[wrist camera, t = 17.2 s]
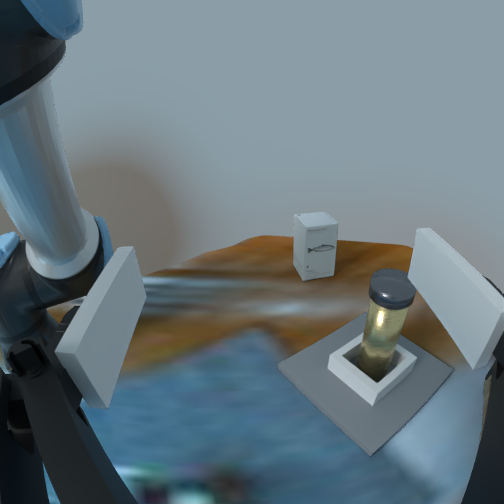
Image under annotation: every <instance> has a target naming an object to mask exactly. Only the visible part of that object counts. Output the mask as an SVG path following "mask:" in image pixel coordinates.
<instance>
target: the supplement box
mask: <svg viewBox="0 0 504 504" xmlns="http://www.w3.org/2000/svg"><path fill="white" fill-rule="evenodd" d="M337 234H338V223H337V222H336V221H335V220H334V219H333V218H332V217H331V216H329V215H328V214H327V213H326V212H316V213H307V214H296V215H294V259H293V265H294V267H295V268H296V270H297V272H298V273H299V275H300V277H301V278H302V280H303V281H306V280H311V279H316V278H322V277H329V276H334V269H335V258H336V246H337Z"/></svg>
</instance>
